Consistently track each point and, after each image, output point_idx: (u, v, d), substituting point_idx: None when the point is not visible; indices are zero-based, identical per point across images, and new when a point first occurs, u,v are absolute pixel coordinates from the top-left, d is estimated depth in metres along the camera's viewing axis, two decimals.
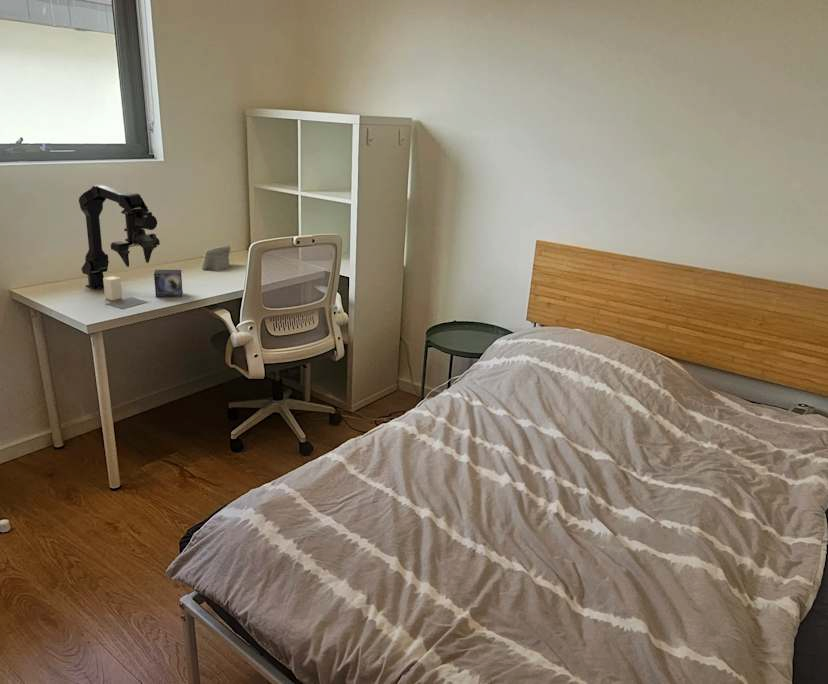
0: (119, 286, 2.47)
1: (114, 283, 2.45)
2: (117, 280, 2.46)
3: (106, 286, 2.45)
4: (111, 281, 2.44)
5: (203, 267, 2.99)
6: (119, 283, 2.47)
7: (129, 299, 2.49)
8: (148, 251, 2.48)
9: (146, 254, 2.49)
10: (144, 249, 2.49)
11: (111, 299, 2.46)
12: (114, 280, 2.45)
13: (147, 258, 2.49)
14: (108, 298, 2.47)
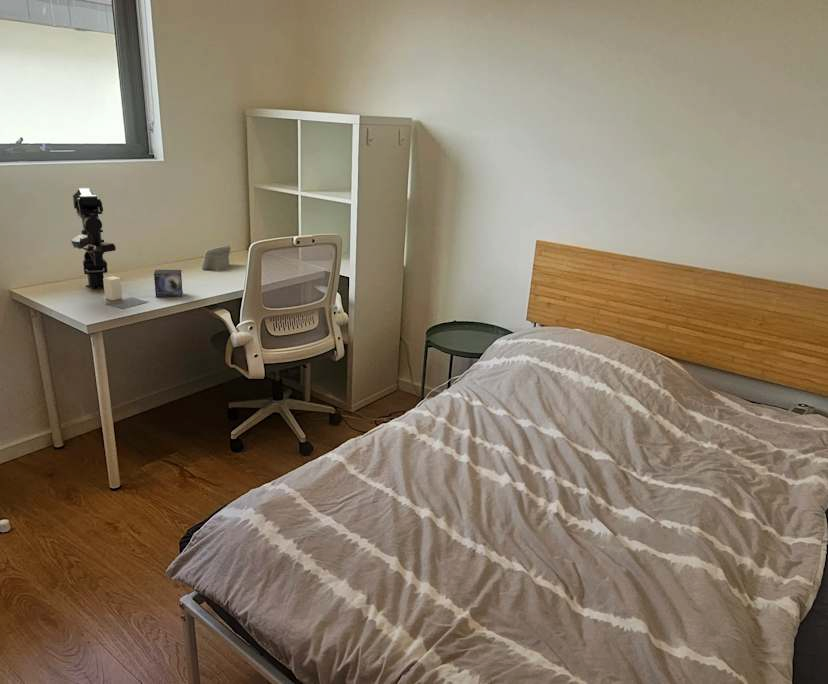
0: (119, 286, 2.47)
1: (114, 283, 2.45)
2: (117, 280, 2.46)
3: (106, 286, 2.45)
4: (111, 281, 2.44)
5: (203, 267, 2.99)
6: (119, 283, 2.47)
7: (129, 299, 2.49)
8: None
9: None
10: None
11: (111, 299, 2.46)
12: (114, 280, 2.45)
13: None
14: (108, 298, 2.47)
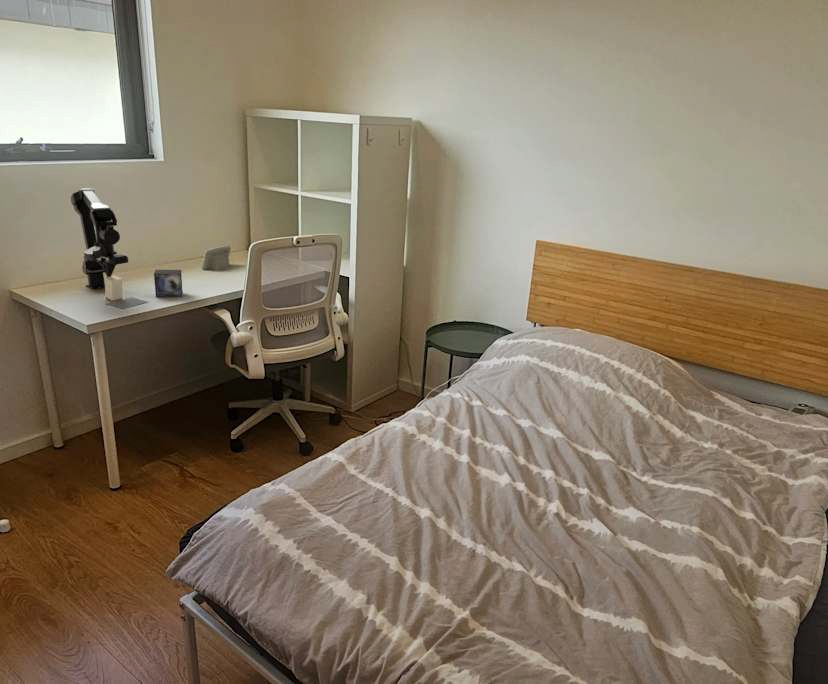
0: (120, 287, 2.47)
1: (115, 284, 2.45)
2: (119, 281, 2.46)
3: (107, 286, 2.45)
4: (113, 282, 2.43)
5: (203, 267, 2.99)
6: (120, 284, 2.47)
7: (129, 299, 2.49)
8: None
9: None
10: None
11: (111, 299, 2.46)
12: (116, 281, 2.44)
13: None
14: (108, 297, 2.47)
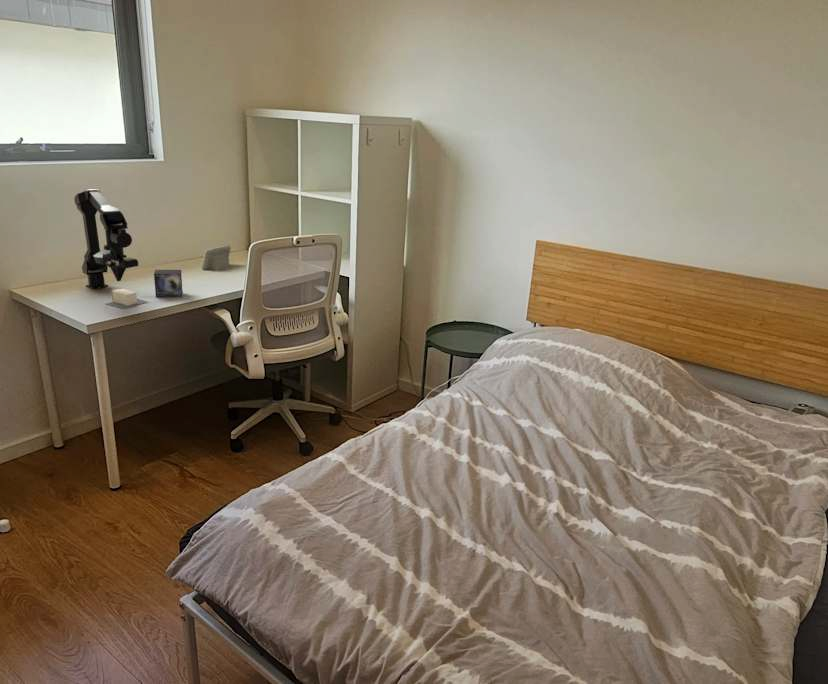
0: None
1: None
2: None
3: (121, 297, 2.42)
4: None
5: (203, 267, 2.99)
6: None
7: None
8: None
9: None
10: None
11: (113, 299, 2.45)
12: None
13: None
14: (113, 295, 2.45)
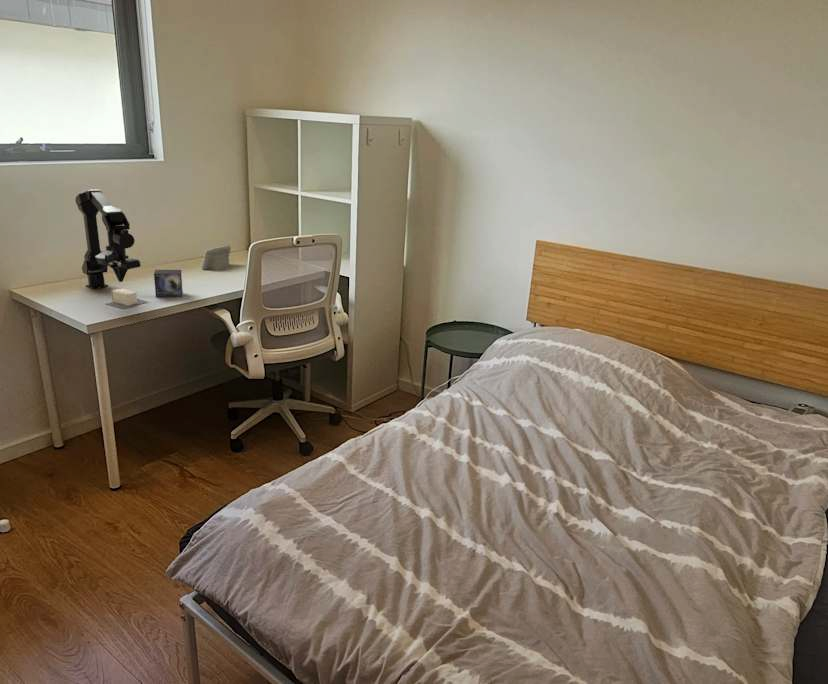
0: None
1: None
2: None
3: (121, 297, 2.42)
4: None
5: (203, 267, 2.99)
6: None
7: None
8: None
9: None
10: None
11: (113, 299, 2.45)
12: None
13: None
14: (113, 295, 2.45)
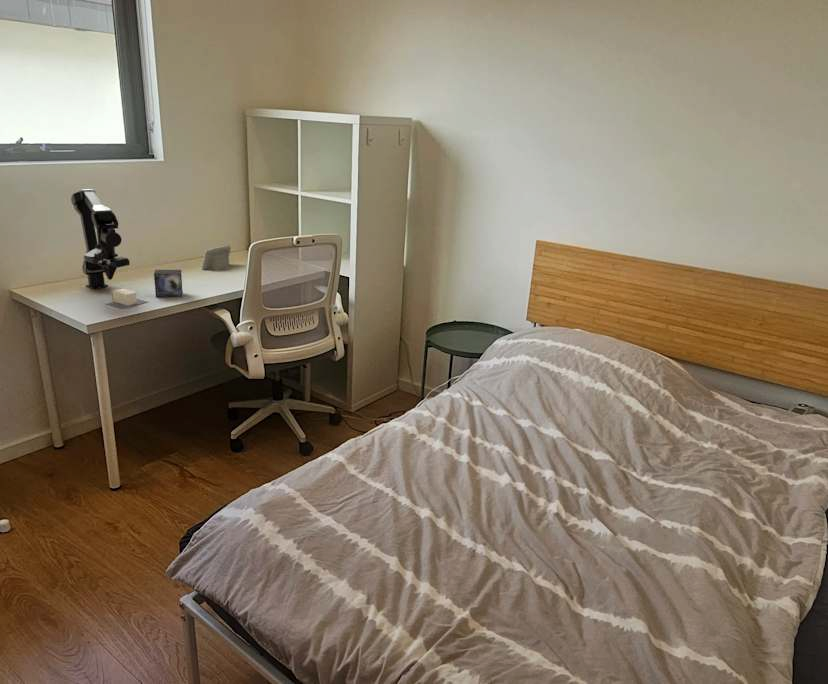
0: None
1: None
2: None
3: (121, 297, 2.42)
4: None
5: (203, 267, 2.99)
6: None
7: None
8: None
9: None
10: None
11: (113, 299, 2.45)
12: None
13: None
14: (113, 295, 2.45)
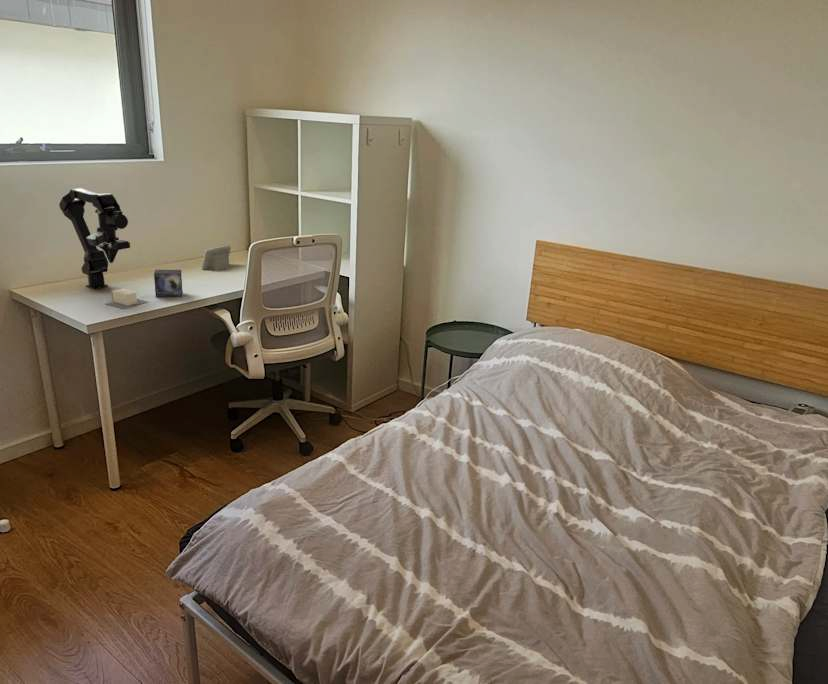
0: None
1: None
2: None
3: (121, 297, 2.42)
4: None
5: (203, 267, 2.99)
6: None
7: None
8: None
9: None
10: None
11: (113, 299, 2.45)
12: None
13: None
14: (113, 295, 2.45)
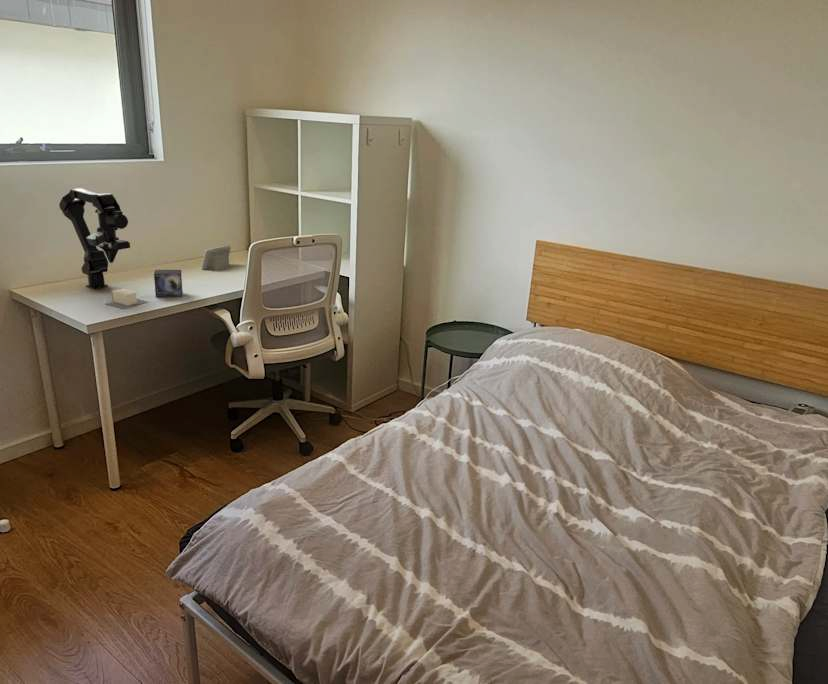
0: None
1: None
2: None
3: (121, 297, 2.42)
4: None
5: (203, 267, 2.99)
6: None
7: None
8: None
9: None
10: None
11: (113, 299, 2.45)
12: None
13: None
14: (113, 295, 2.45)
